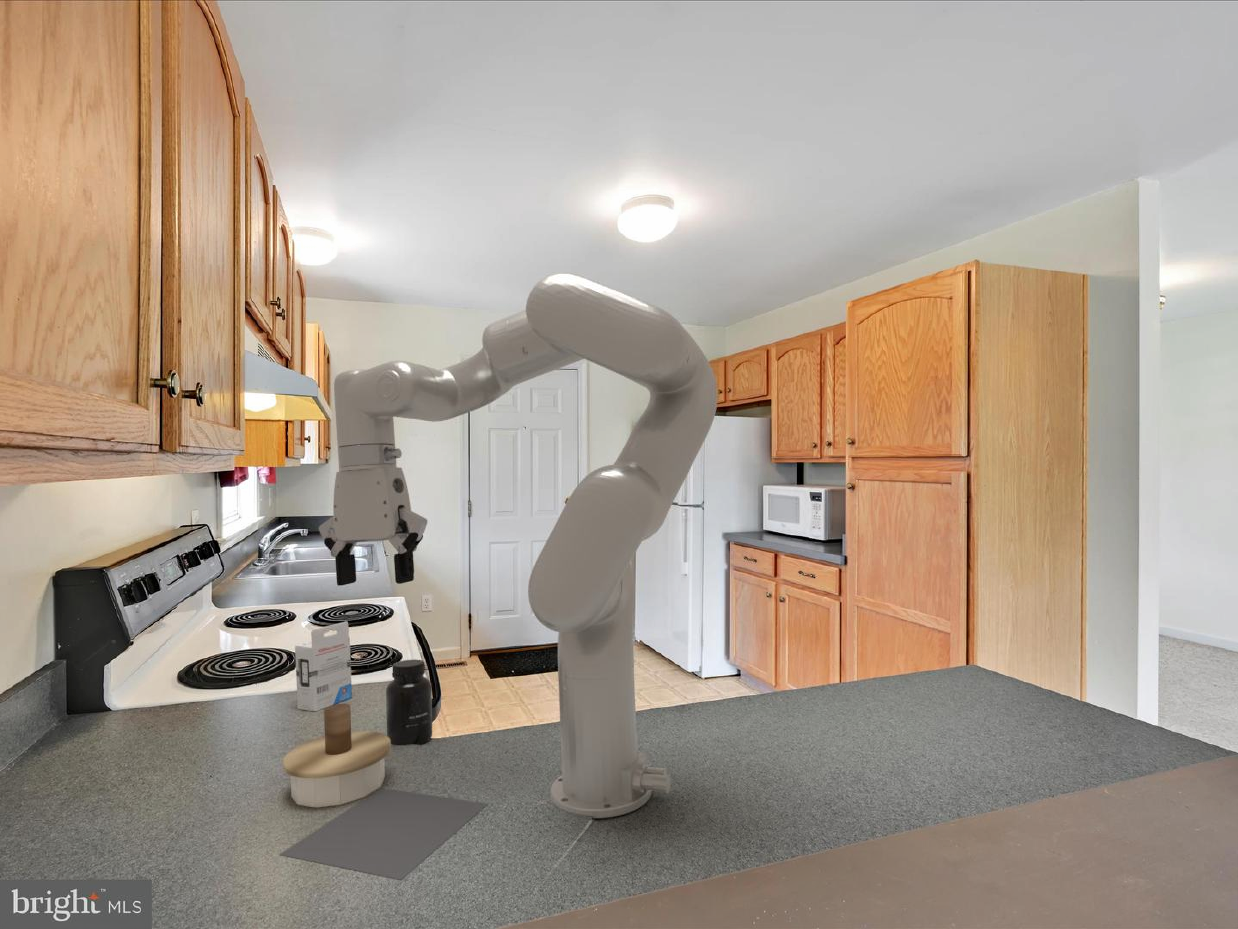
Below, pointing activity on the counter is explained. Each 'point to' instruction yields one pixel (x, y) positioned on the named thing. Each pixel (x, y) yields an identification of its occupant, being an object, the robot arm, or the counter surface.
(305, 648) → the ink box
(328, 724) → the lid
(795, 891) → the counter surface
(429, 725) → the supplement bottle
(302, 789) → the bowl
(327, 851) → the mat
